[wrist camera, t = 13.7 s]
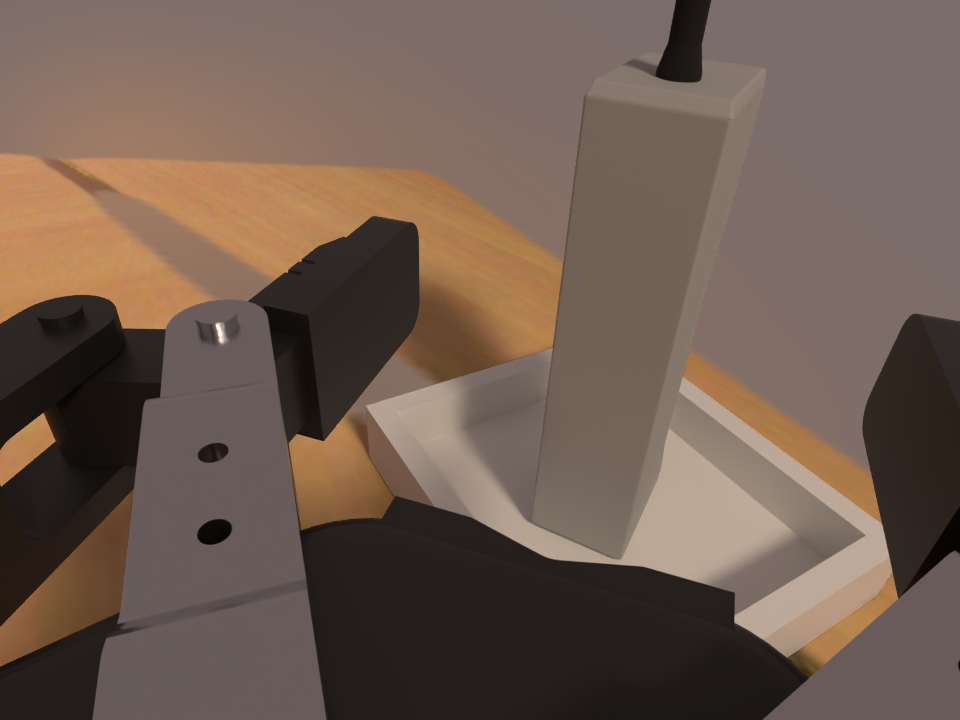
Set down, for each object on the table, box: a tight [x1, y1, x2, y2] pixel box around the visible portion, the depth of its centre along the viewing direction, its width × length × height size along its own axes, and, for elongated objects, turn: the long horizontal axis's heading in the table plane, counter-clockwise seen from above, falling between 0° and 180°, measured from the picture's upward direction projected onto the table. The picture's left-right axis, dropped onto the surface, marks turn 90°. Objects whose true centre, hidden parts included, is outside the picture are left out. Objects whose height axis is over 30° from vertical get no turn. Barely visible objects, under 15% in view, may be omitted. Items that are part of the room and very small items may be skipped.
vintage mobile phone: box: [531, 0, 766, 560], centre depth 20 cm, size 4×5×25 cm
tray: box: [366, 348, 892, 657], centre depth 27 cm, size 14×16×3 cm
